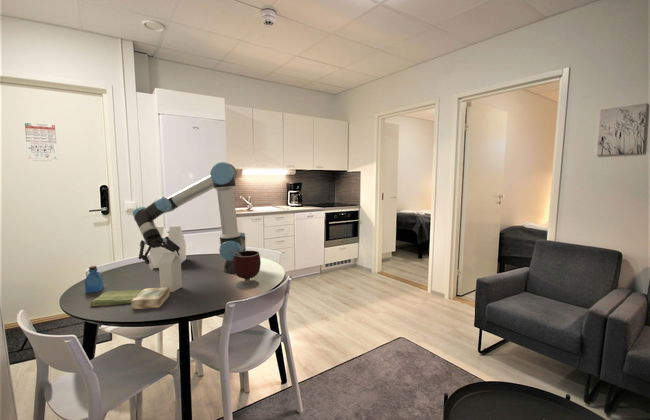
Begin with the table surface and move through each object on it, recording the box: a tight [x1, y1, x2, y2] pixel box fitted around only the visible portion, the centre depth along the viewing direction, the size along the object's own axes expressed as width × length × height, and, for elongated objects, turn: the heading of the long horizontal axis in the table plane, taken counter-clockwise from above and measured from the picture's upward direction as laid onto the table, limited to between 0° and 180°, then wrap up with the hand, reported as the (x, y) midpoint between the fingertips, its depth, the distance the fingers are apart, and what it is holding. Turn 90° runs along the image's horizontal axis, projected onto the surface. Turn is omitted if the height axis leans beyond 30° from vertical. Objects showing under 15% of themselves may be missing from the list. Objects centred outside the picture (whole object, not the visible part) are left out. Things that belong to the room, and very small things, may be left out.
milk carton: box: [158, 253, 183, 293], centre depth 154 cm, size 7×7×19 cm
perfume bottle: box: [84, 265, 104, 294], centre depth 153 cm, size 6×6×12 cm
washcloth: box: [89, 289, 142, 307], centre depth 142 cm, size 13×18×3 cm
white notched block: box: [149, 225, 187, 269], centre depth 200 cm, size 19×15×25 cm
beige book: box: [131, 287, 171, 310], centre depth 139 cm, size 11×14×4 cm
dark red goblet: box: [231, 250, 262, 290], centre depth 159 cm, size 16×14×20 cm
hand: (166, 265), depth 154 cm, fingers open, 13 cm apart
